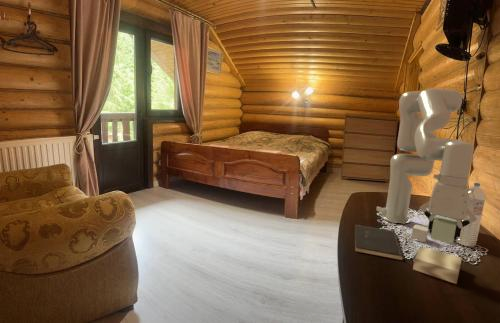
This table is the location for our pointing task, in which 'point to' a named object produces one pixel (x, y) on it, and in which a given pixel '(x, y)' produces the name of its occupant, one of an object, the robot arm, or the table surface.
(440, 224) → the sage cube
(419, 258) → the birch block
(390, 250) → the hardcover book
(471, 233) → the water bottle
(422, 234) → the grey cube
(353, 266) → the table surface
